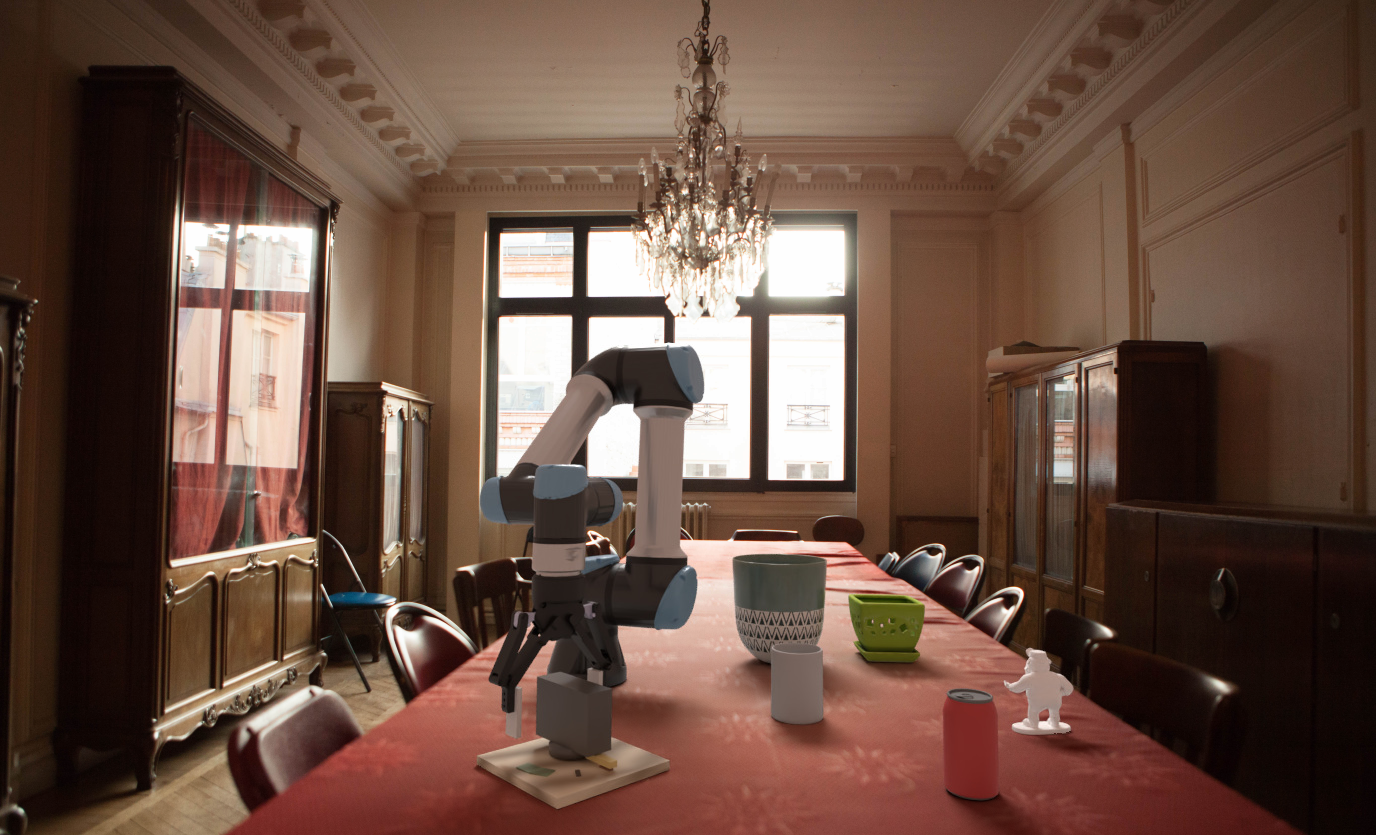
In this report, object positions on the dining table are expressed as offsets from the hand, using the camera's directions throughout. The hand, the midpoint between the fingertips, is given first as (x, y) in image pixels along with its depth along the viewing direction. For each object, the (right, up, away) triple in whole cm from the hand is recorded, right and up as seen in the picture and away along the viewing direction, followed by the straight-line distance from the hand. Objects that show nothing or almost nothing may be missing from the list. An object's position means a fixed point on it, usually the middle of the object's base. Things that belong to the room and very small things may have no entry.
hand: (555, 725), depth 110 cm
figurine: (+74, -6, +13) cm, 75 cm away
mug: (+36, -6, +20) cm, 42 cm away
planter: (+38, -8, +54) cm, 67 cm away
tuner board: (+3, -4, -5) cm, 7 cm away
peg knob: (+4, -2, -4) cm, 6 cm away
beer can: (+54, -4, -12) cm, 56 cm away
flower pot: (+61, -9, +59) cm, 85 cm away
